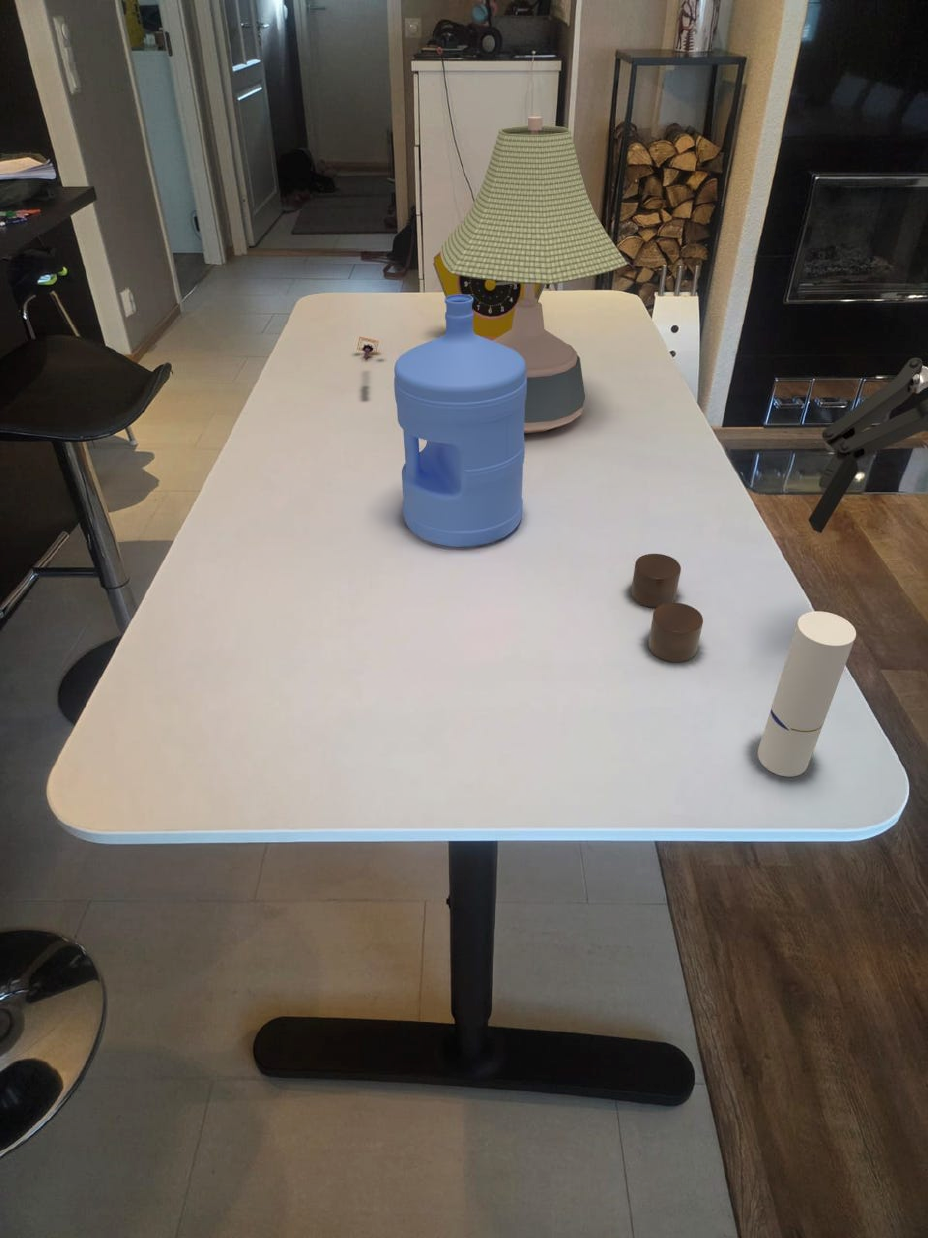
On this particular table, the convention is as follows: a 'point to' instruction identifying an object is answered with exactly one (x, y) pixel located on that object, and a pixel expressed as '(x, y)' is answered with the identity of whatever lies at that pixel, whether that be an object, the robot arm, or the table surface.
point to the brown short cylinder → (655, 580)
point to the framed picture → (367, 347)
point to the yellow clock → (485, 299)
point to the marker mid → (675, 632)
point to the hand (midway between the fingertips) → (891, 556)
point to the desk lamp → (535, 254)
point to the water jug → (462, 433)
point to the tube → (805, 691)
